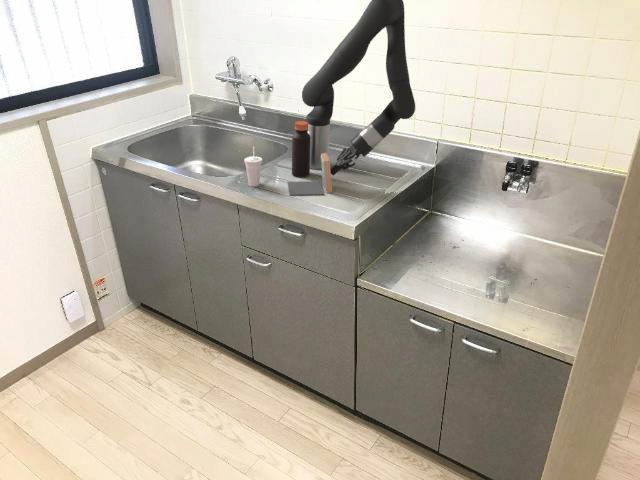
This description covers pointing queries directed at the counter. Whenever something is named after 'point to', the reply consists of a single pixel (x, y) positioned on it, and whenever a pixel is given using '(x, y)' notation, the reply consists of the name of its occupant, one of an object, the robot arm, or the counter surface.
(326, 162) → the tile
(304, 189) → the mat
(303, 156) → the bottle
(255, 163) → the smoothie
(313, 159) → the robot arm
